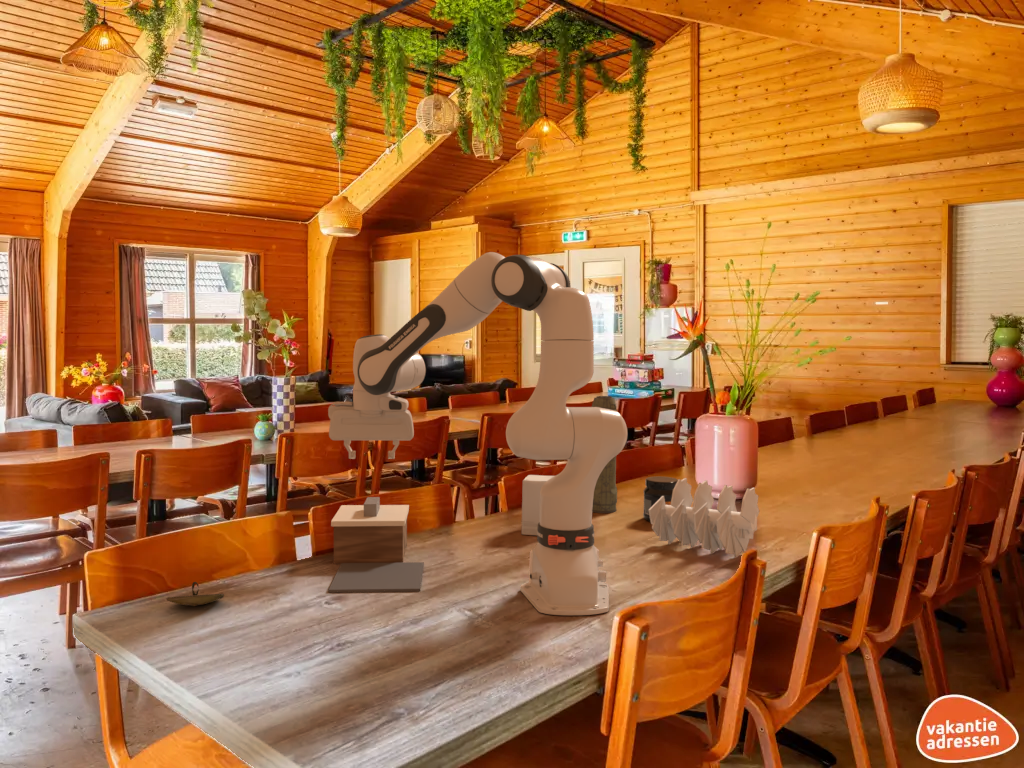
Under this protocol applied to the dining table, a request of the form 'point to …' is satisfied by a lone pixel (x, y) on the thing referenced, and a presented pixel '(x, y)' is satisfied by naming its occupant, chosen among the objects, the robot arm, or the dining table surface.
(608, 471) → the thermos
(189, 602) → the lid
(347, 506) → the lid panel
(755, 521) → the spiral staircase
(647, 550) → the dining table surface
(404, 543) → the crate
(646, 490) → the supplement container
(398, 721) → the dining table surface
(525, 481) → the supplement box
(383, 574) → the mat
